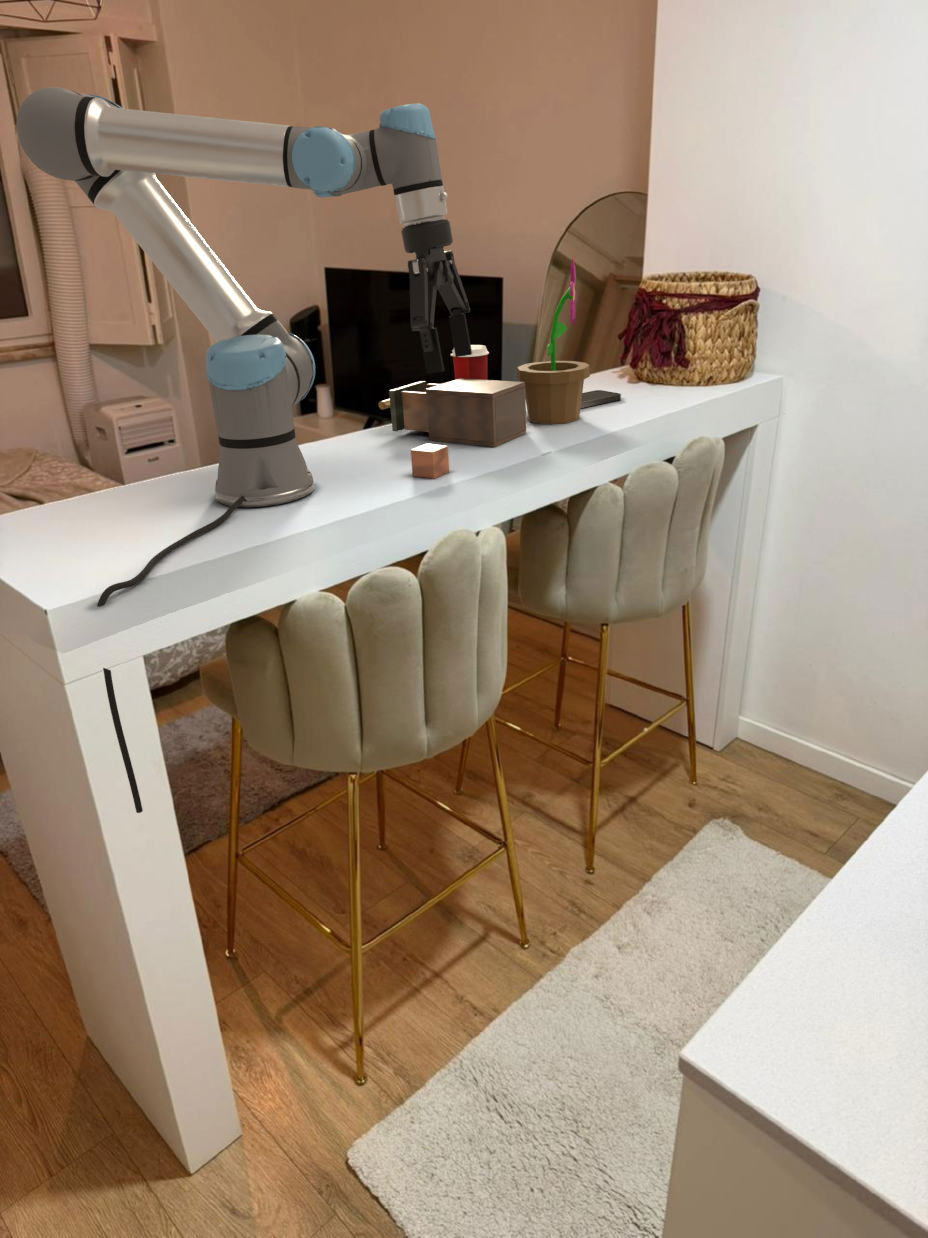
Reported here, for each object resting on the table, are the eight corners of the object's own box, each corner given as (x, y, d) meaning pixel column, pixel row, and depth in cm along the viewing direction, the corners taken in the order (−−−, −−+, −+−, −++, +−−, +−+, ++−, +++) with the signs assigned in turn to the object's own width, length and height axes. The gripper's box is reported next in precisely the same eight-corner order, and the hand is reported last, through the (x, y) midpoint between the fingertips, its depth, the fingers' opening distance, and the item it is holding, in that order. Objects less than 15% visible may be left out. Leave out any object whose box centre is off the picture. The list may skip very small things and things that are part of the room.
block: (434, 478, 143) (432, 451, 142) (412, 475, 146) (410, 449, 144) (449, 471, 147) (448, 445, 145) (428, 469, 149) (426, 443, 147)
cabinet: (429, 440, 168) (425, 388, 164) (463, 427, 176) (460, 377, 172) (494, 447, 160) (492, 393, 156) (526, 433, 169) (525, 381, 165)
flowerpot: (587, 425, 172) (588, 259, 159) (514, 426, 174) (509, 262, 162) (591, 410, 184) (592, 254, 172) (522, 411, 187) (519, 258, 174)
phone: (623, 393, 192) (571, 404, 184) (623, 399, 193) (571, 410, 185) (598, 389, 198) (546, 399, 190) (597, 394, 198) (546, 405, 191)
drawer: (375, 429, 175) (371, 389, 172) (406, 418, 183) (403, 379, 179) (449, 436, 166) (446, 394, 162) (479, 424, 173) (477, 384, 170)
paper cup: (492, 411, 188) (490, 343, 182) (490, 419, 181) (487, 348, 176) (456, 413, 189) (452, 345, 183) (452, 420, 182) (448, 350, 176)
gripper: (416, 222, 123) (445, 376, 131) (473, 212, 144) (494, 346, 152) (368, 232, 125) (399, 382, 134) (430, 220, 146) (454, 351, 155)
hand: (450, 363), depth 143 cm, fingers open, 13 cm apart
